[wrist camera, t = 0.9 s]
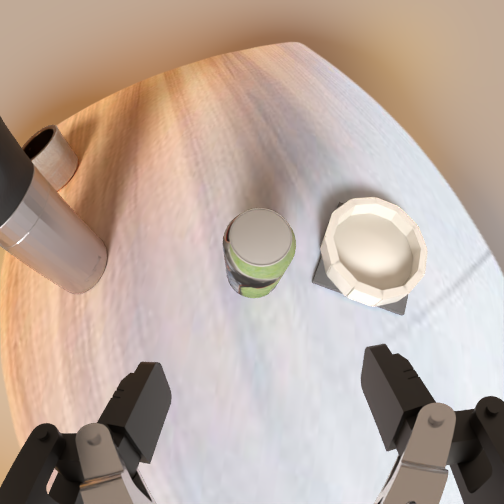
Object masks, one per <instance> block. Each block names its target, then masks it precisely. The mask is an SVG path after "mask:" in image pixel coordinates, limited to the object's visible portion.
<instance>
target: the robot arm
mask: <svg viewBox="0 0 504 504" xmlns="http://www.w3.org/2000/svg"><path fill="white" fill-rule="evenodd" d="M0 246H1V247H2V248H4V249H5V250H6V251H8V252H9V253H10V254H12V255H13V256H15V257H16V258H17V259H19V260H20V261H22V262H23V263H25V264H26V265H27V266H29V267H30V268H32V269H33V270H35V271H36V272H38V273H39V274H41V275H42V276H44V277H46V278H47V279H49V280H50V281H52V282H53V283H55V284H56V285H58V286H60V287H61V288H63V289H65V290H66V291H68V292H70V293H73V294H79V293H84V292H86V291H88V290H89V289H91V288H92V287H93V286H94V285H95V284H96V283H97V282H98V280H99V279H100V277H101V276H102V274H103V272H104V269H105V266H106V261H107V250H106V247H105V245H104V243H103V241H102V240H101V239H100V238H99V237H98V236H97V235H96V234H95V233H94V232H93V231H92V230H91V229H90V228H89V227H88V225H87V224H86V223H85V222H84V221H83V220H82V219H81V218H80V217H79V216H78V215H77V214H76V213H75V212H74V210H73V209H72V208H71V207H70V206H69V205H68V204H67V203H66V202H65V200H64V199H63V198H62V197H61V196H60V195H59V194H58V192H57V191H56V190H55V189H54V188H53V187H52V185H51V184H50V183H49V182H48V181H47V180H46V178H45V177H44V176H43V175H42V174H41V172H40V171H39V170H38V169H37V167H36V166H35V165H34V164H33V163H32V161H31V160H30V159H29V157H28V156H27V155H26V154H25V152H24V151H23V149H22V148H21V147H20V145H19V144H18V142H17V141H16V139H15V138H14V137H13V135H12V134H11V132H10V131H9V129H8V128H7V126H6V125H5V123H4V122H3V120H2V118H1V117H0ZM361 386H362V390H363V393H364V395H365V397H366V400H367V402H368V405H369V407H370V410H371V412H372V415H373V417H374V420H375V422H376V425H377V427H378V430H379V433H380V435H381V438H382V440H383V443H384V446H385V448H386V451H390V450H393V449H397V451H398V454H399V455H398V457H397V459H396V461H395V463H394V465H393V467H392V470H391V472H390V474H389V476H388V478H387V480H386V482H385V484H384V486H383V488H382V490H381V492H380V494H379V495H378V497H377V499H376V500H375V502H374V504H439V502H440V499H441V496H442V493H443V490H444V487H445V484H446V481H447V477H448V470H446V469H445V466H446V465H450V467H451V470H452V472H453V475H454V478H455V480H456V483H457V486H458V488H459V491H460V494H461V497H462V499H463V502H464V504H504V402H503V401H502V400H501V399H499V398H497V397H494V396H488V397H484V398H482V399H481V400H480V401H479V402H478V403H477V405H476V407H475V409H470V410H463V411H453V409H452V408H451V407H449V406H448V405H446V404H443V403H436V402H435V400H434V399H433V397H432V396H431V394H430V392H429V391H428V389H427V388H426V386H425V385H424V383H423V382H422V380H421V379H420V377H418V374H417V373H416V371H415V370H413V367H412V365H411V364H410V362H409V361H408V360H407V359H406V358H404V357H403V356H401V355H400V354H398V353H397V354H393V355H392V353H391V351H390V350H389V348H388V347H387V345H386V344H380V345H375V346H370V347H366V349H365V353H364V360H363V367H362V374H361ZM170 404H171V390H170V387H169V385H168V382H167V379H166V377H165V374H164V371H163V368H162V366H161V364H160V363H158V362H141V363H140V364H139V365H138V367H137V369H136V371H135V372H134V373H130V374H129V375H127V376H126V377H125V378H124V379H123V380H122V381H121V382H120V384H119V386H118V387H117V391H115V392H114V394H113V398H111V399H110V401H109V403H108V404H107V406H106V408H105V410H104V411H103V413H102V415H101V417H100V418H99V420H98V422H97V423H91V424H87V425H85V426H83V427H82V428H81V429H80V430H79V431H78V433H73V434H63V433H60V432H59V430H58V429H57V428H56V427H55V426H54V425H52V424H49V423H45V424H41V425H39V426H37V427H36V428H35V429H34V430H33V431H32V433H31V434H30V436H29V437H28V439H27V441H26V442H25V444H24V446H23V447H22V449H21V451H20V452H19V454H18V456H17V458H16V460H15V461H14V463H13V465H12V467H11V468H10V470H9V472H8V474H7V476H6V478H5V480H4V481H3V484H2V485H1V487H0V504H156V502H155V500H154V498H153V497H152V495H151V493H150V491H149V489H148V487H147V485H146V483H145V481H144V479H143V477H142V475H141V473H140V471H139V470H138V468H137V467H138V465H139V462H143V463H148V464H150V462H151V459H152V456H153V453H154V450H155V447H156V445H157V442H158V439H159V436H160V433H161V430H162V427H163V424H164V421H165V418H166V415H167V413H168V410H169V407H170ZM54 468H55V469H56V470H57V471H58V474H57V476H56V478H55V481H54V483H53V485H52V487H51V490H50V492H49V494H47V491H46V485H47V483H48V481H49V479H50V476H51V474H52V472H53V470H54Z"/></svg>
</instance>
